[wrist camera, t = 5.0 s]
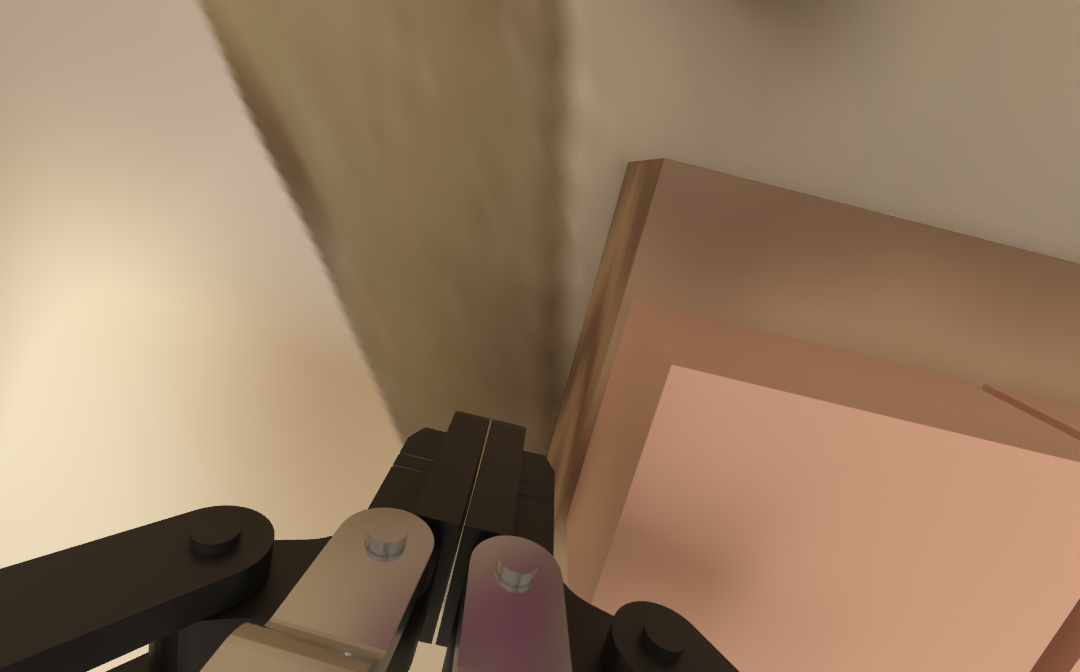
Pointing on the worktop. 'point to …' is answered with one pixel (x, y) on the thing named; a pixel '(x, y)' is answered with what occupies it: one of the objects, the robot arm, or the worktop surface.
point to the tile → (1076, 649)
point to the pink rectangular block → (823, 504)
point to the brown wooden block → (816, 292)
